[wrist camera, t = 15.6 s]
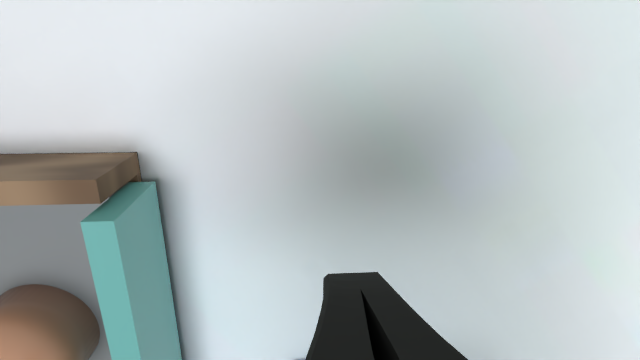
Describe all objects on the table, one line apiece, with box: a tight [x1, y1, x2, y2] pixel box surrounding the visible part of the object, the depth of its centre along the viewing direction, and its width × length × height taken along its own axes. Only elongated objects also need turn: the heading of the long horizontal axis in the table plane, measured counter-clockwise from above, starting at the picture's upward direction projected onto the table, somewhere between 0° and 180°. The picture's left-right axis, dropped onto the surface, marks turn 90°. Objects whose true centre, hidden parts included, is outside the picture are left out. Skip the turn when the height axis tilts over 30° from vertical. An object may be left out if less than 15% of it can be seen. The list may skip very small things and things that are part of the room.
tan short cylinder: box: [0, 284, 100, 360], centre depth 17 cm, size 5×5×4 cm
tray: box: [0, 182, 182, 360], centre depth 18 cm, size 15×16×4 cm
